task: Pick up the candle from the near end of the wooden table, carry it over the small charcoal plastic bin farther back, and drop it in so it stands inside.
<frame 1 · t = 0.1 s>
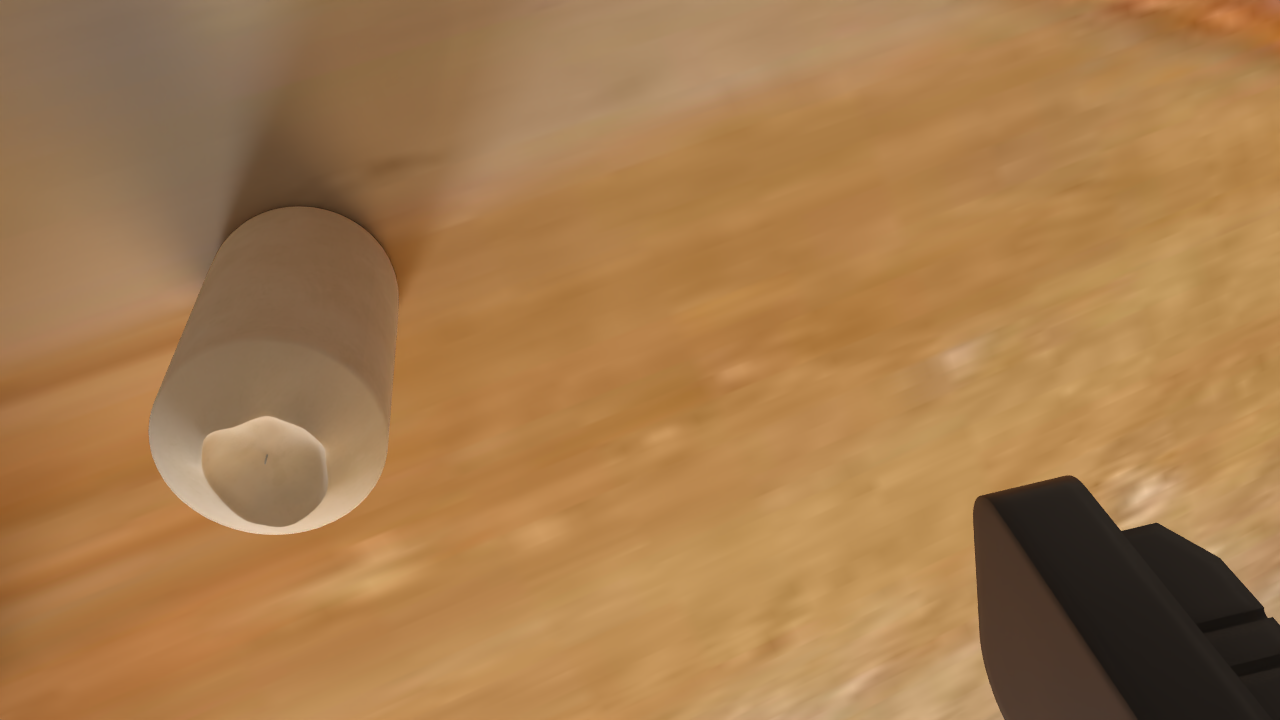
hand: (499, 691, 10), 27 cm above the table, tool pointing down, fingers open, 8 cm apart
candle: (306, 286, 37), on the table
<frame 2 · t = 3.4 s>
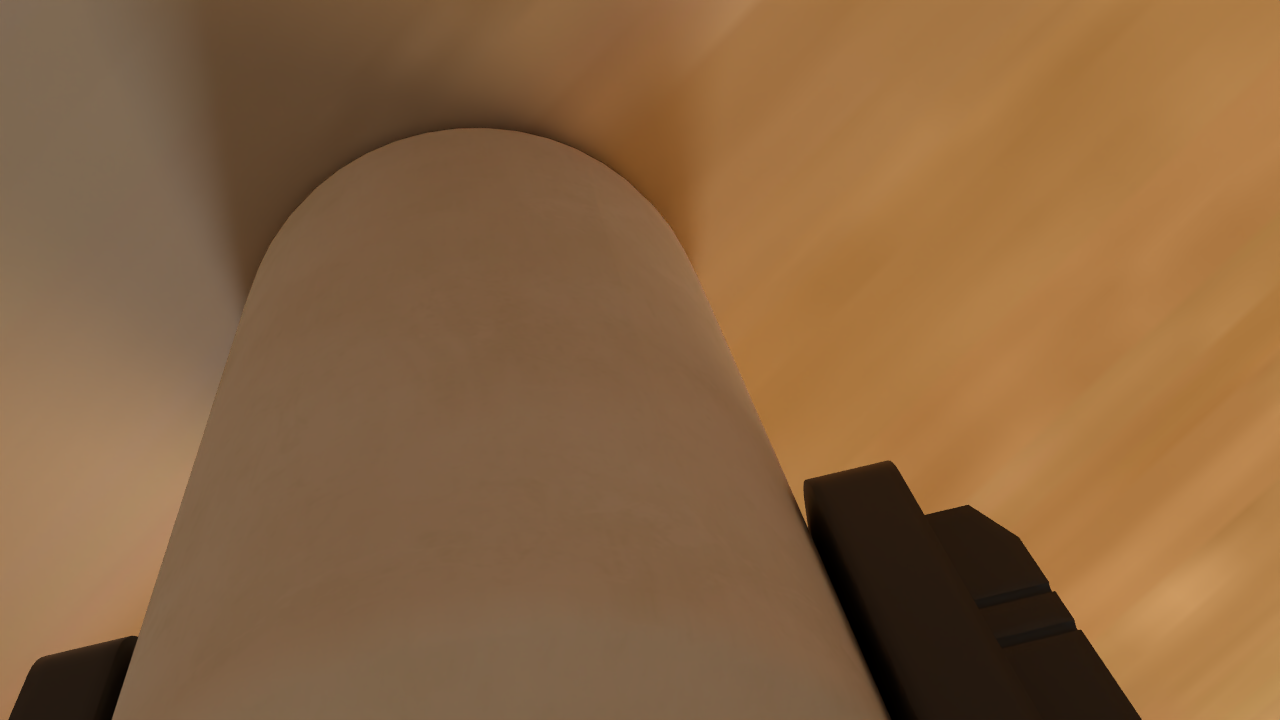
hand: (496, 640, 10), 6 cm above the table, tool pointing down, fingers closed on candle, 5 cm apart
candle: (479, 329, 15), on the table, touching gripper
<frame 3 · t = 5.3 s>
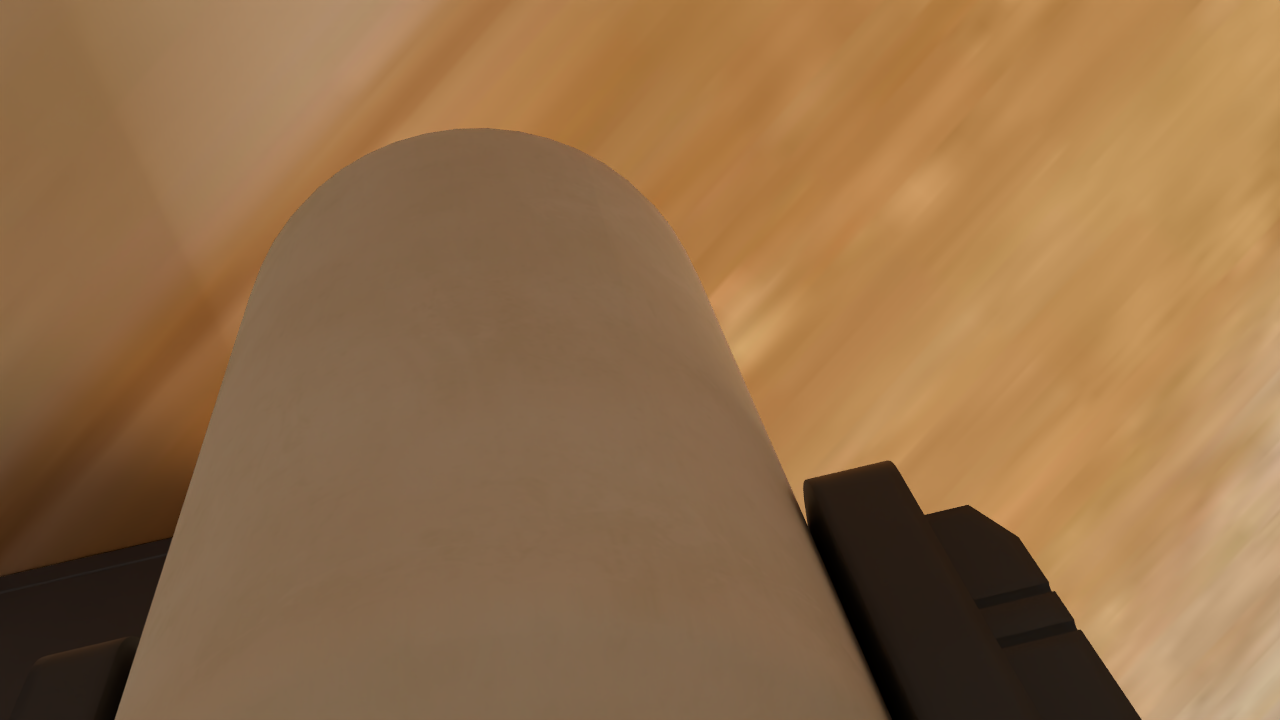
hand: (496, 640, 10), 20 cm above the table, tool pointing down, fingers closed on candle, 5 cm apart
bin: (169, 709, 35), on the table
candle: (481, 329, 15), point 14 cm above the table, touching gripper
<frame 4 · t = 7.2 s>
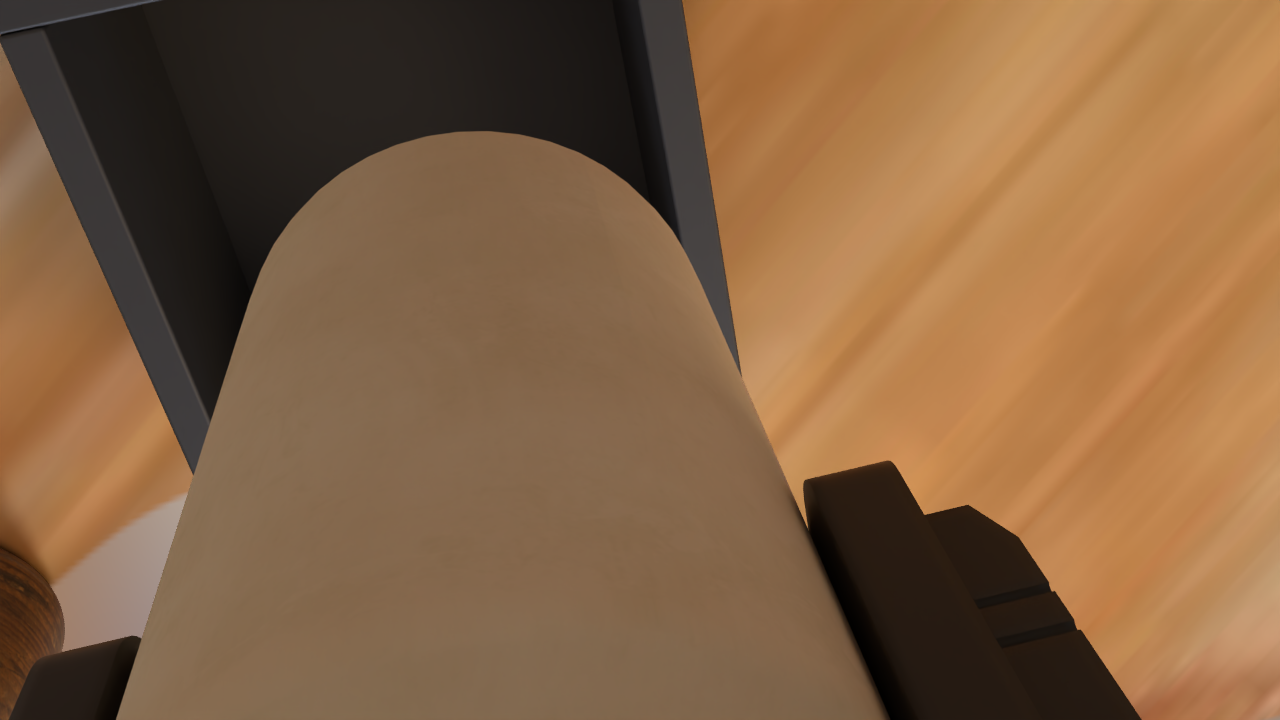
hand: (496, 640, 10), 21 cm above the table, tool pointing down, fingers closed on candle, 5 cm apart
bin: (419, 120, 29), on the table
candle: (481, 331, 15), point 15 cm above the table, touching gripper
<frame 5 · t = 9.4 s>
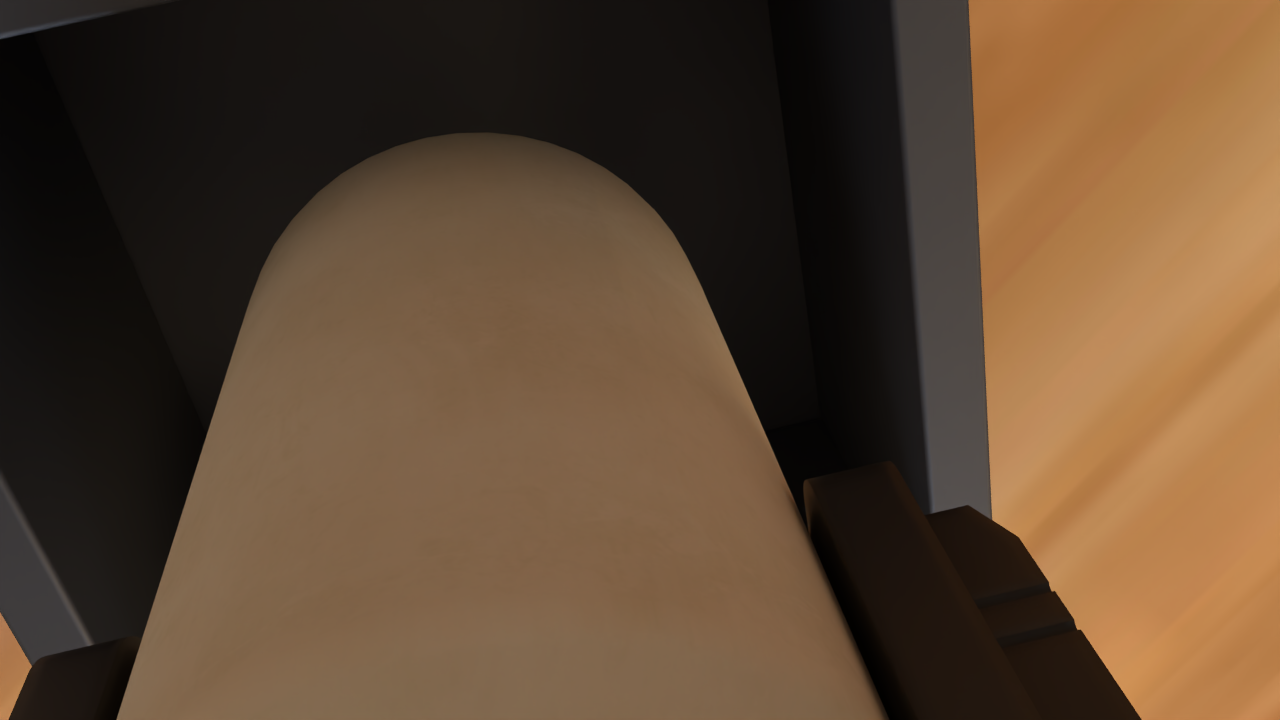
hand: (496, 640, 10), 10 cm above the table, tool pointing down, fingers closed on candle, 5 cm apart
bin: (468, 201, 19), on the table
candle: (481, 333, 15), point 5 cm above the table, touching gripper
when the fingers open (6 cm above the table, at t = 11.1 s): candle stays where it is, resting on bin.
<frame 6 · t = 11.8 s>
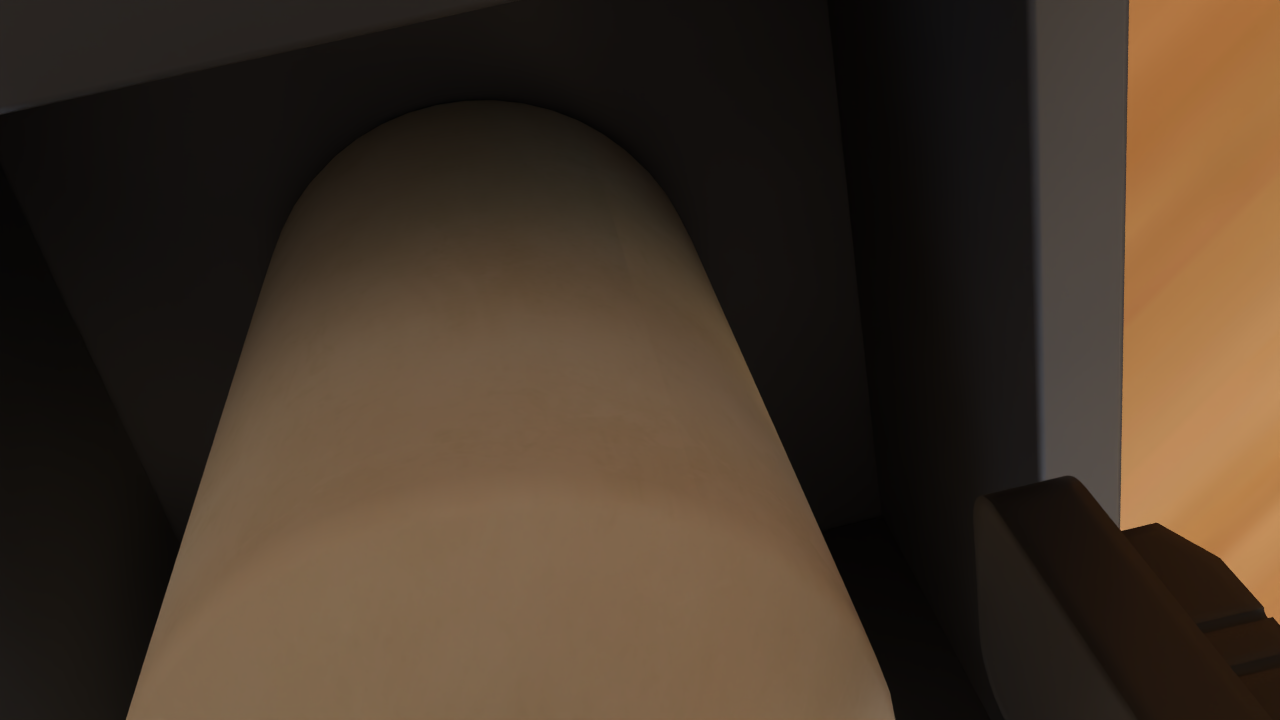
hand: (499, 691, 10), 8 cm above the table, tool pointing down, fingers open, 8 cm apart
bin: (480, 277, 17), on the table
candle: (487, 291, 16), point 1 cm above the table, touching bin
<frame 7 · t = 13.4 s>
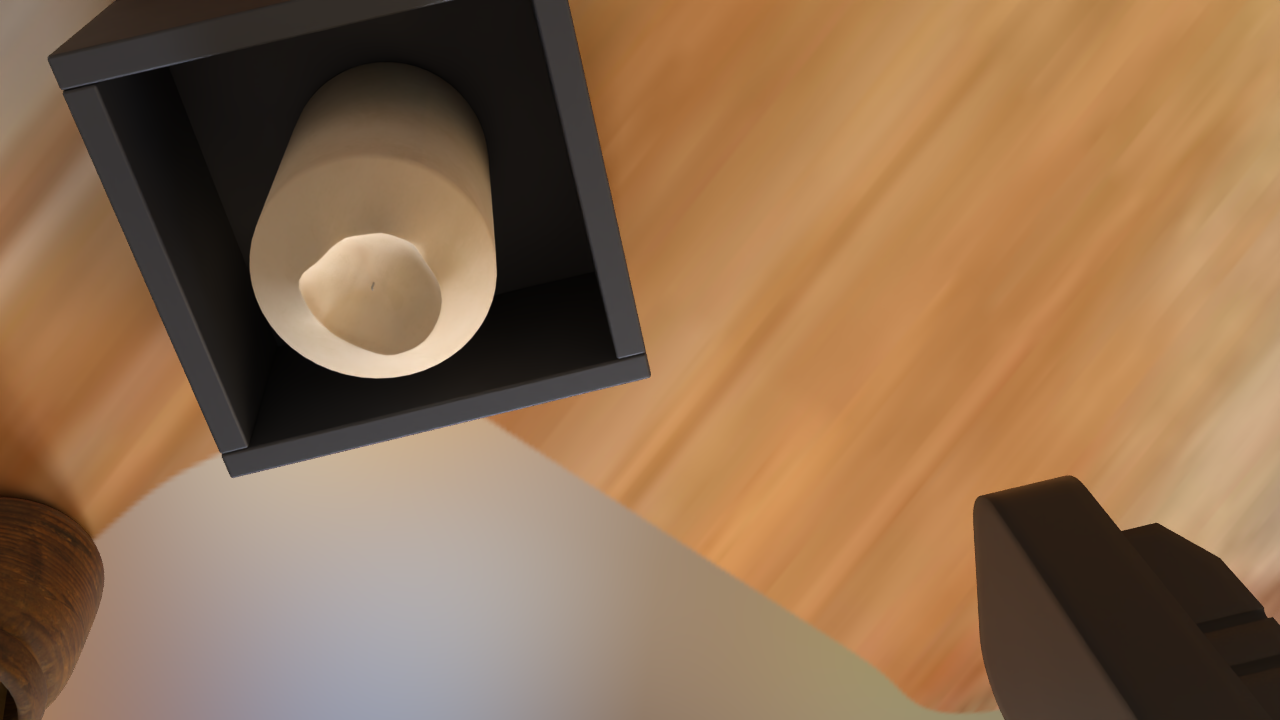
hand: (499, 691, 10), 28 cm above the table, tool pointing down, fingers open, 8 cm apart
bin: (390, 147, 36), on the table
candle: (392, 152, 35), point 1 cm above the table, touching bin
utensil holder: (21, 562, 41), on the table
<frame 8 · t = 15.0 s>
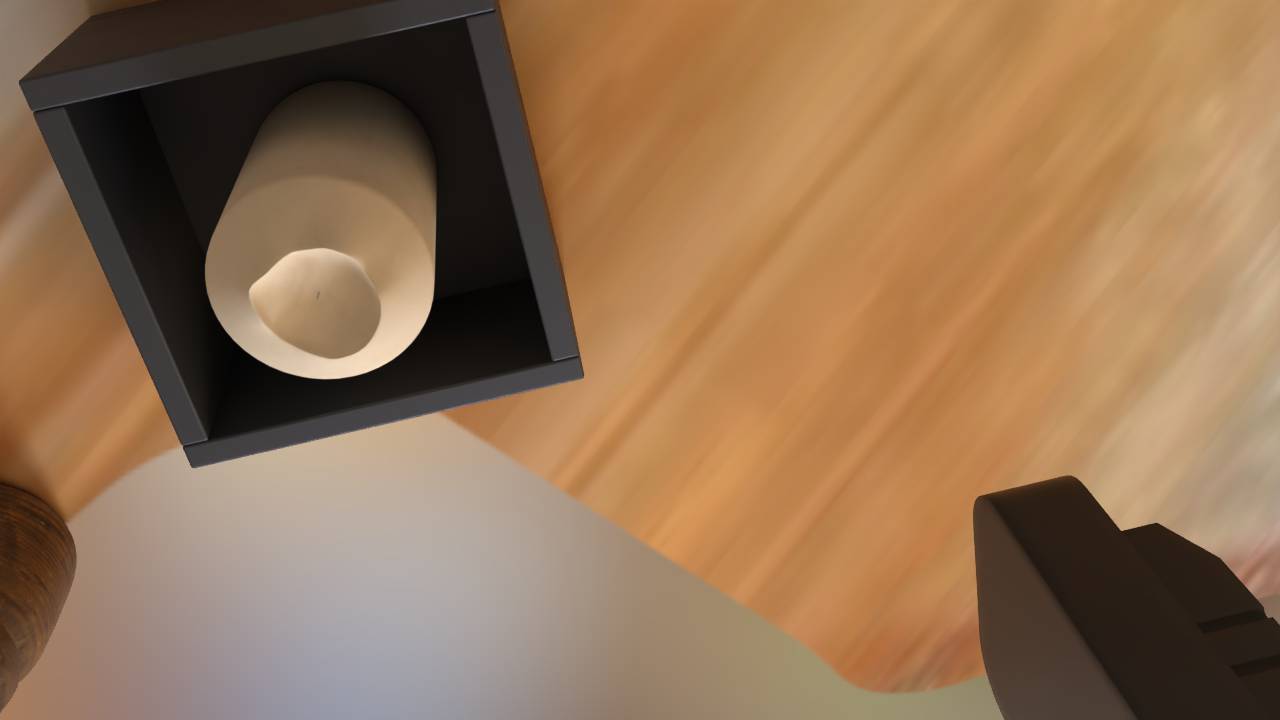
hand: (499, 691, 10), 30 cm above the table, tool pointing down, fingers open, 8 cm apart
bin: (346, 159, 38), on the table
candle: (347, 163, 38), point 1 cm above the table, touching bin
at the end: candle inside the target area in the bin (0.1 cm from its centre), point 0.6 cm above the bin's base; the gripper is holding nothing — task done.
